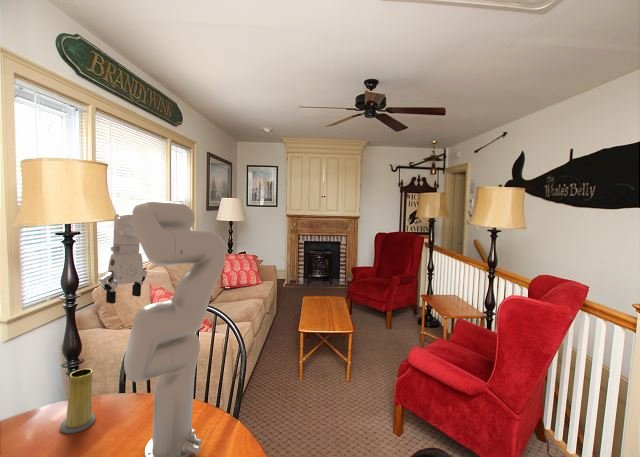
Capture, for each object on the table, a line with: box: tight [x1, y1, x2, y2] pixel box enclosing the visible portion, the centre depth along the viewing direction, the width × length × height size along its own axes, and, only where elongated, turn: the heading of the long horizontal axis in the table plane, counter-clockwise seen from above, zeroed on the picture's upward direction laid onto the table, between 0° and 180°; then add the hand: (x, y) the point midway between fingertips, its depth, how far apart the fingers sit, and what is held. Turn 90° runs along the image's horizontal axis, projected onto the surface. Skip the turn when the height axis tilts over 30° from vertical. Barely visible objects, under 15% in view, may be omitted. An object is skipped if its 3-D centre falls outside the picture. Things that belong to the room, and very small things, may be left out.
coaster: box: [59, 412, 96, 435], centre depth 89 cm, size 8×8×1 cm
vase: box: [65, 368, 93, 428], centre depth 88 cm, size 6×6×14 cm
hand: (124, 299), depth 104 cm, fingers open, 9 cm apart
